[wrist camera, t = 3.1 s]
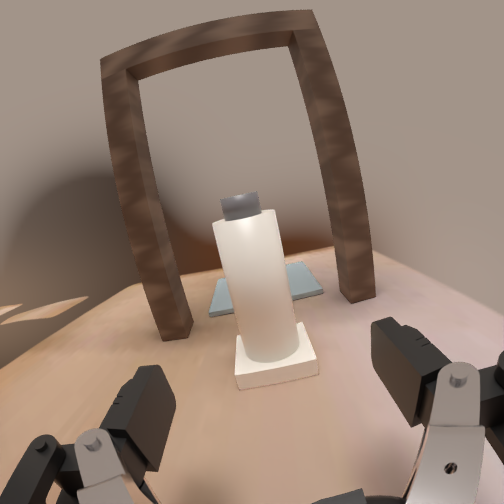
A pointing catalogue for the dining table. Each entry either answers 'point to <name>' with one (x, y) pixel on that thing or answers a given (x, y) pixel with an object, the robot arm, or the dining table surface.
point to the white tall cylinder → (261, 296)
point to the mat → (299, 285)
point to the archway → (140, 166)
